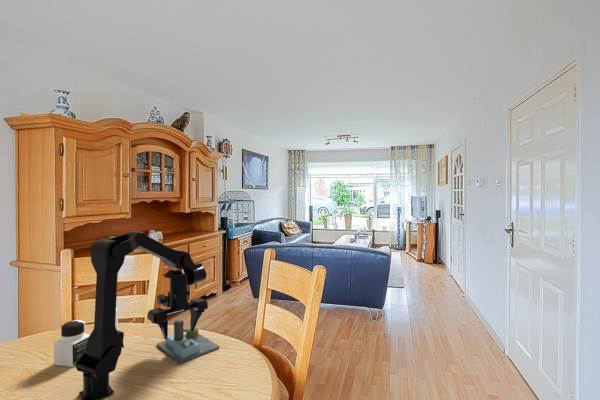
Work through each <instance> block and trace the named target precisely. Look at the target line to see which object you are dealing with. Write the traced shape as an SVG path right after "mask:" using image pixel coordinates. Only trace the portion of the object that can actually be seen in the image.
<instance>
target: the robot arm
mask: <svg viewBox="0 0 600 400" xmlns="http://www.w3.org/2000/svg"><path fill="white" fill-rule="evenodd" d="M137 249H138V250H141V251H144V252H146V253H148V254H149V255H151V256H153V257H156V258H158V259H160V260H161V262H162V263H163V264H164V265H165V266H167V267H168V268H170V269H168V271H167V272H166V273H165V274H164V275H163V277H164V278H166V279H169V290H168V292H167V295H165V294H164V293H162V294H158V295H157V297H156V301H157V305H158V306H160V305H163V307H164V308H165V307H167V308H166V309H163V308H162V307H157V308H153V309H150V310H149V311H148V312H147V320H149V321H150V322H151V323H153V324H156V325H158V326H159V329H160V332H161V333H162V337H163V339H164V341H166V340H167V336H168V335H169V334H168V333H169V332H168V331H169V330H168V329H169V328H168V327H169V325H168V324H169V321H168V320H167V319H168V316H171V315H174V314H179V313H181V312H185V311H189V312H190V322H189V323H190V327H191V331H193V330H194V328H195V326H196V324H197V323H199V322H198V321H199V319H200V318H201V316H202V314H203V313H204V312H206V311H205V310H208V309H209V303H208V301H207V300H206V299H204V298H202V297H197V298H194V299H190V301H189V296H190V295H191V293H190V291H189V286H192V285H195V284H199V283H201V282H203V281H205V280H206V279H207V271H206V269H205V268H204V267H203V263H201V262H196V263H195V261H194V260H193V258H192V256H191V254H190V253H189V252H188V251H184V250H179V249H175V248H171V247H169V246H167V245H165V244H164V243H162V242H160V241H158V240H156V239H154V238H153V237H150V236H148V235H147V234H145V233H144V232H142V231H129V232H126V233H123V234H121V235H117V236H114V237H109V238H107V239H105V238H102V239H98V240H95V242H94V243H92V244H91V246H90V250H89V256H90V263H91V265H92V267H93V270H94V271H95V274H96V282H95V283H96V284H95V301H94V322H93V330H92V331H91V333H89V334H90V336H89V338H88V340H87V345H86V350H85V351H84V353H83V354H82V355H81V357H80V358H79V360H78V361H77V362H76V364H75V366H74V367H75V369H76V371H77V372H81V373H82V389H83V390H81V391H79V392H78V395H79V397H80V399H81V400H102V399H104V398H106V397H109V396H111V395H113V394H114V393H115V392H114V390H113V388H112V387H111V385H110V373H112V372H113V371H115V370H116V367H117V364H118V360H119V357H121V353H122V350H123V348H125V345H124V338H125V337H124V336H125V333H124V332H123V331H121V330H119V329H118V330H117V329H116V327H115V321H116V308H117V297H118V296H117V293H118V275H119V272H120V269H122V266H123V265H124V263H125V258H126V256H127V255H129V254H131V253H133V252H134V251H136V250H137ZM174 269H177V270H174Z"/></svg>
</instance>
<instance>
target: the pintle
mask: <svg viewBox="0 0 600 400" xmlns="http://www.w3.org/2000/svg"><path fill="white" fill-rule="evenodd" d="M188 346H190V339H186V340H185V348H186V347H188Z"/></svg>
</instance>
